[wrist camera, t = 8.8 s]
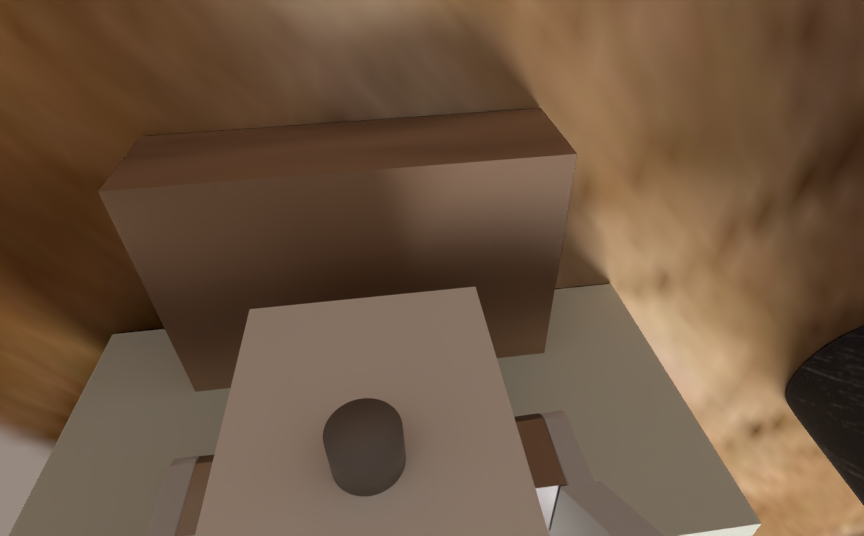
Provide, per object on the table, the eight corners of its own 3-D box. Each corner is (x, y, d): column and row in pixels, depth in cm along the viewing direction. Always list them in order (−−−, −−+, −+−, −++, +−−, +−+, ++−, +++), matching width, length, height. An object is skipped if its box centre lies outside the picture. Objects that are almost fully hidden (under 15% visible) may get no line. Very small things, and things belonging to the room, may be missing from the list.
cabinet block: (240, 280, 11) (148, 604, 6) (476, 257, 11) (568, 545, 6) (294, 442, 14) (263, 725, 9) (471, 420, 15) (527, 681, 10)
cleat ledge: (141, 136, 14) (97, 191, 11) (540, 108, 15) (577, 153, 12) (216, 323, 18) (195, 391, 16) (520, 293, 19) (544, 353, 17)
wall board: (112, 334, 18) (-46, 640, 11) (611, 283, 19) (761, 523, 12) (129, 363, 19) (-6, 662, 12) (603, 313, 20) (739, 551, 13)
